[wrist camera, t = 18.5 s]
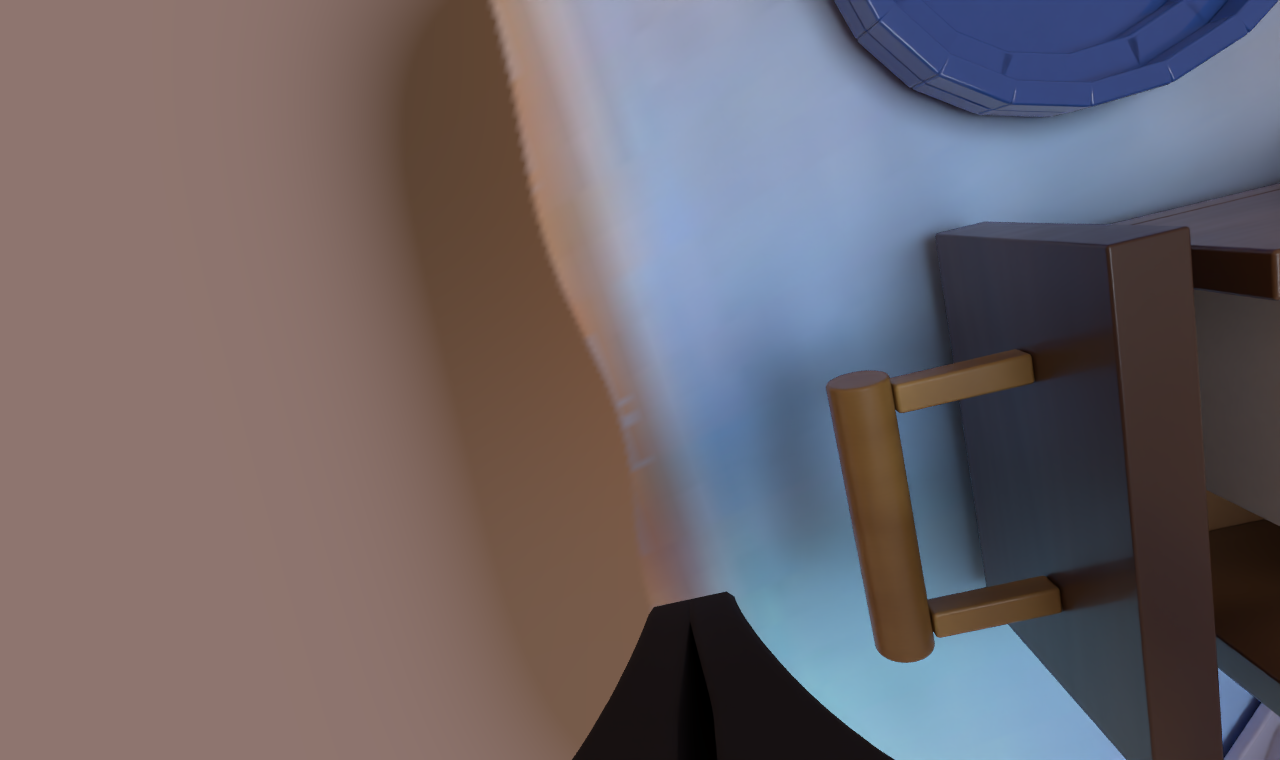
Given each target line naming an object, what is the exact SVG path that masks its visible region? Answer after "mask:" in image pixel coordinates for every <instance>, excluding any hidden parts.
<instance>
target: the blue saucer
mask: <svg viewBox="0 0 1280 760" xmlns="http://www.w3.org/2000/svg"><path fill="white" fill-rule="evenodd" d="M834 1H835V3H836V5H837V7H838V9H839V10H840V12H841V14H842V16H843V17H844V19H845V21H846V23H847V25H848V26H849V28H850V30H851V32H852V33H853V35H854V37H855V38H856V39H857V41H858V42H859V43H860V44H861V45H862V46H863V47H864V48H865V49H866V50H868V51H869V52H870V53H871V54H872V55H873V56H874V57H876V58H877V59H878V60H879V61H880V62H881V63H882V64H883V65H885V66H886V67H887V68H888V69H889V70H890V71H891V72H892V73H894V74H895V75H896V76H897V77H898V78H899V79H900V80H901V81H903V82H904V83H905V84H906V85H907V86H908V87H910V88H911V87H912V88H913V89H914V90H916V91H918V92H921V93H923V94H926V95H929V96H931V97H934V98H936V99H939V100H941V101H944V102H946V103H949V104H951V105H954V106H957V107H959V108H962V109H964V110H967V111H969V112H972V113H974V114H977V113H978V114H979V115H997V116H1029V117H1050V116H1057V115H1061V114H1065V113H1069V112H1073V111H1077V110H1081V109H1086V108H1090V107H1094V106H1097V105H1100V104H1104V103H1107V102H1110V101H1114V100H1117V99H1121V98H1124V97H1127V96H1131V95H1134V94H1137V93H1141V92H1144V91H1148V90H1151V89H1154V88H1158V87H1161V86H1164V85H1168V84H1169V83H1171V82H1174V81H1176V80H1177V79H1179V78H1180V77H1182V76H1184V75H1185V74H1187V73H1188V72H1190V71H1191V70H1193V69H1194V68H1196V67H1198V66H1199V65H1201V64H1202V63H1204V62H1205V61H1207V60H1208V59H1210V58H1211V57H1213V56H1215V55H1216V54H1218V53H1219V52H1221V51H1222V50H1224V49H1225V48H1227V47H1228V46H1230V45H1232V44H1233V43H1235V42H1236V41H1238V40H1239V39H1241V38H1242V37H1244V36H1245V35H1246V34H1247V33H1248V32H1250V31H1251V30H1252V29H1253V28H1254V27H1255V26H1256V25H1257V24H1258V22H1259V21H1260V20H1261V19H1262V18H1263V17H1264V16H1265V15H1266V14H1267V13H1268V11H1269V10H1270V9H1271V8H1272V7H1273V6H1274V5H1275V4H1276V3H1277V2H1278V0H834Z"/></svg>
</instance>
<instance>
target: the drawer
mask: <svg viewBox="0 0 1280 760" xmlns="http://www.w3.org/2000/svg"><path fill="white" fill-rule="evenodd" d="M935 238H936V245H937V252H938V259H939V266H940V273H941V279H942V286H943V293H944V300H945V307H946V314H947V320H948V327H949V334H950V341H951V348H952V354H953V361H954V363H953V364H949V365H944V366H940V367H936V368H931V369H927V370H923V371H918V372H914V373H910V374H906V375H901V376H897V377H893V378H890V377H889V375H888V374H887V373H885V372H882V371H858V372H852V373H848V374H844V375H841V376H838V377H836V378H834V379H832V380H830V381H829V382H828V383H827V385H826V391H827V396H828V401H829V407H830V412H831V417H832V422H833V428H834V433H835V438H836V443H837V448H838V454H839V459H840V464H841V469H842V474H843V480H844V485H845V490H846V495H847V501H848V506H849V511H850V516H851V521H852V527H853V532H854V537H855V542H856V548H857V553H858V558H859V563H860V568H861V574H862V579H863V584H864V589H865V595H866V600H867V605H868V610H869V615H870V621H871V626H872V631H873V636H874V641H875V646H876V649H877V650H878V652H879V653H880V654H881V655H882V656H884V657H885V658H887V659H889V660H892V661H895V662H902V663H909V662H916V661H919V660H922V659H924V658H926V657H928V656H929V655H930V654H931V653H932V651H933V649H934V646H935V641H934V636H933V632H934V633H935V635H936V636H937V637H939V638H941V637H946V636H951V635H956V634H961V633H966V632H971V631H975V630H980V629H985V628H990V627H995V626H1000V625H1005V624H1008V625H1009V626H1010V627H1011V628H1012V629H1013V631H1014V632H1015V633H1016V634H1017V635H1018V636H1019V637H1020V639H1021V640H1022V641H1023V642H1024V643H1025V644H1026V645H1027V647H1028V648H1029V649H1030V650H1031V651H1032V652H1033V653H1034V655H1035V656H1036V657H1037V658H1038V659H1039V660H1040V661H1041V663H1042V664H1043V665H1044V666H1045V667H1046V668H1047V669H1048V671H1049V672H1050V673H1051V674H1052V675H1053V676H1054V677H1055V679H1056V680H1057V681H1058V682H1059V683H1060V684H1061V685H1062V687H1063V688H1064V689H1065V690H1066V691H1067V692H1068V693H1069V695H1070V696H1071V697H1072V698H1073V699H1074V700H1075V701H1076V703H1077V704H1078V705H1079V706H1080V707H1081V708H1082V709H1083V711H1084V712H1085V713H1086V714H1087V715H1088V716H1089V717H1090V719H1091V720H1092V721H1093V722H1094V723H1095V724H1096V725H1097V727H1098V728H1099V729H1100V730H1101V731H1102V732H1103V733H1104V735H1105V736H1106V737H1107V738H1108V739H1109V740H1110V741H1111V743H1112V744H1113V745H1114V746H1115V747H1116V748H1117V749H1118V751H1119V752H1120V753H1121V754H1122V755H1123V756H1124V757H1125V759H1126V760H1223V744H1222V728H1221V712H1220V697H1219V681H1218V668H1219V669H1220V670H1221V671H1223V672H1224V673H1225V674H1226V675H1228V676H1229V677H1230V678H1231V679H1233V680H1234V681H1235V682H1236V683H1238V684H1239V685H1240V686H1241V687H1243V688H1244V689H1245V690H1246V691H1248V692H1249V693H1250V694H1251V695H1253V696H1254V697H1255V698H1256V699H1258V700H1259V701H1260V702H1261V703H1263V704H1264V705H1265V706H1266V707H1268V708H1269V709H1270V710H1271V711H1273V712H1274V713H1275V714H1276V715H1278V716H1279V717H1280V526H1278V525H1276V524H1274V523H1272V522H1270V521H1268V520H1266V519H1264V518H1262V517H1260V516H1258V515H1256V514H1254V513H1252V512H1250V511H1248V510H1246V509H1244V508H1242V507H1240V506H1238V505H1236V504H1234V503H1232V502H1230V501H1228V500H1226V499H1224V498H1222V497H1220V496H1218V495H1216V494H1214V493H1212V492H1210V491H1208V490H1206V476H1205V461H1204V445H1203V429H1202V413H1201V398H1200V382H1199V366H1198V350H1197V335H1196V319H1195V303H1194V290H1201V291H1209V292H1216V293H1223V294H1230V295H1238V296H1245V297H1252V298H1259V299H1267V300H1274V301H1279V300H1280V183H1278V184H1274V185H1270V186H1266V187H1261V188H1257V189H1253V190H1249V191H1245V192H1241V193H1237V194H1233V195H1228V196H1224V197H1220V198H1216V199H1212V200H1208V201H1204V202H1200V203H1195V204H1191V205H1187V206H1183V207H1179V208H1175V209H1171V210H1166V211H1162V212H1158V213H1154V214H1150V215H1146V216H1142V217H1138V218H1133V219H1129V220H1125V221H1121V222H1117V223H1113V224H1109V225H1107V224H1062V223H1017V222H981V223H977V224H973V225H969V226H965V227H961V228H957V229H953V230H949V231H945V232H940V233H937V234H935ZM958 400H959V402H960V409H961V416H962V423H963V429H964V436H965V443H966V450H967V457H968V464H969V470H970V477H971V484H972V491H973V498H974V505H975V511H976V518H977V525H978V532H979V539H980V545H981V552H982V559H983V566H984V573H985V580H986V586H987V587H985V588H980V589H975V590H970V591H966V592H961V593H956V594H951V595H947V596H942V597H937V598H932V599H927V594H926V588H925V582H924V576H923V570H922V565H921V559H920V553H919V547H918V541H917V535H916V529H915V523H914V517H913V511H912V505H911V500H910V494H909V488H908V482H907V476H906V470H905V464H904V458H903V452H902V446H901V440H900V434H899V429H898V423H897V417H896V411H898V412H899V413H905V412H909V411H914V410H918V409H923V408H927V407H931V406H936V405H940V404H944V403H949V402H953V401H958ZM895 410H896V411H895Z"/></svg>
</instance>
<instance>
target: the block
mask: <svg viewBox="0 0 1280 760" xmlns="http://www.w3.org/2000/svg"><path fill="white" fill-rule="evenodd" d="M1194 303H1195V319H1196V335H1197V350H1198V366H1199V382H1200V398H1201V413H1202V429H1203V445H1204V461H1205V476H1206V490H1208V491H1210V492H1212V493H1214V494H1216V495H1218V496H1220V497H1222V498H1224V499H1226V500H1228V501H1230V502H1232V503H1234V504H1236V505H1238V506H1240V507H1242V508H1244V509H1246V510H1248V511H1250V512H1252V513H1254V514H1256V515H1258V516H1260V517H1262V518H1264V519H1266V520H1268V521H1270V522H1272V523H1274V524H1276V525H1278V526H1280V300H1279V301H1274V300H1267V299H1259V298H1252V297H1245V296H1238V295H1230V294H1223V293H1216V292H1209V291H1201V290H1194Z"/></svg>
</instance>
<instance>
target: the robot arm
mask: <svg viewBox="0 0 1280 760" xmlns="http://www.w3.org/2000/svg"><path fill="white" fill-rule="evenodd" d="M572 760H894V759H893V758H891V757H890V756H888V755H886V754H885V753H883V752H882V751H880V750H879V749H877V748H876V747H875V746H873V745H872V744H871V743H869V742H868V741H867V740H865V739H864V738H863V737H861V736H860V735H859V734H857V733H856V732H855V731H853V730H852V729H851V728H849V727H848V726H847V725H846V724H845V723H843V722H842V721H841V720H840V719H839V718H837V717H836V716H835V715H834V714H832V713H831V712H830V711H829V710H828V709H827V708H826V707H824V706H823V705H822V704H821V703H820V702H819V701H818V700H817V699H816V698H814V697H813V696H812V695H811V694H810V693H809V692H808V691H807V690H806V689H805V688H804V687H803V686H802V685H801V684H800V683H799V682H798V681H797V680H796V679H795V678H794V677H793V676H792V675H791V674H790V673H789V672H788V671H787V670H786V668H785V667H784V666H783V665H782V664H781V663H780V662H779V661H778V659H777V658H776V657H775V656H774V655H773V654H772V652H771V651H770V650H769V649H768V648H767V647H766V645H765V644H764V643H763V642H762V641H761V639H760V638H759V637H758V635H757V634H756V633H755V631H754V630H753V629H752V627H751V626H750V624H749V623H748V621H747V620H746V618H745V617H744V615H743V614H742V612H741V610H740V608H739V606H738V604H737V602H736V600H735V597H734V596H733V595H731V594H729V593H728V592H722V593H718V594H713V595H708V596H704V597H699V598H694V599H690V600H685V601H680V602H676V603H671V604H666V605H662V606H657V607H654V608H653V609H652V611H651V612H650V614H649V616H648V618H647V621H646V623H645V626H644V629H643V631H642V633H641V636H640V638H639V640H638V643H637V645H636V647H635V649H634V651H633V654H632V656H631V658H630V660H629V662H628V664H627V666H626V668H625V670H624V672H623V674H622V676H621V678H620V680H619V682H618V684H617V686H616V688H615V690H614V692H613V694H612V696H611V697H610V700H609V701H608V703H607V704H606V706H605V708H604V710H603V711H602V713H601V715H600V716H599V718H598V720H597V721H596V723H595V725H594V727H593V729H592V730H591V732H590V733H589V735H588V736H587V738H586V740H585V741H584V743H583V744H582V746H581V747H580V749H579V750H578V752H577V753H576V755H575V756H574V758H573V759H572ZM1224 760H1280V717H1279V716H1278V715H1276V714H1275V713H1274V712H1273V711H1271V710H1270V709H1269V708H1268V707H1266V706H1265V705H1264V704H1263V703H1261V704H1260V706H1259V707H1258V709H1257V710H1256V712H1255V713H1254V715H1253V716H1252V718H1251V719H1250V721H1249V722H1248V724H1247V725H1246V727H1245V728H1244V730H1243V731H1242V733H1241V734H1240V736H1239V737H1238V739H1237V740H1236V742H1235V743H1234V745H1233V746H1232V748H1231V749H1230V751H1229V752H1228V754H1227V755H1226V757H1225V758H1224Z"/></svg>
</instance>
